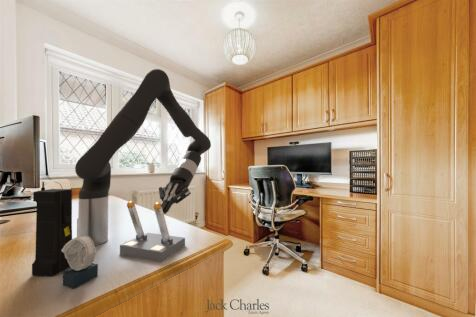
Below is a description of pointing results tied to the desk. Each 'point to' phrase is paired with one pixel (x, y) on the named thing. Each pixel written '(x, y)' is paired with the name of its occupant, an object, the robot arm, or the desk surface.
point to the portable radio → (52, 230)
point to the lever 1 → (135, 219)
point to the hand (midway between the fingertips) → (162, 212)
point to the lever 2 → (161, 222)
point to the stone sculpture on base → (79, 270)
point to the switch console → (152, 247)
